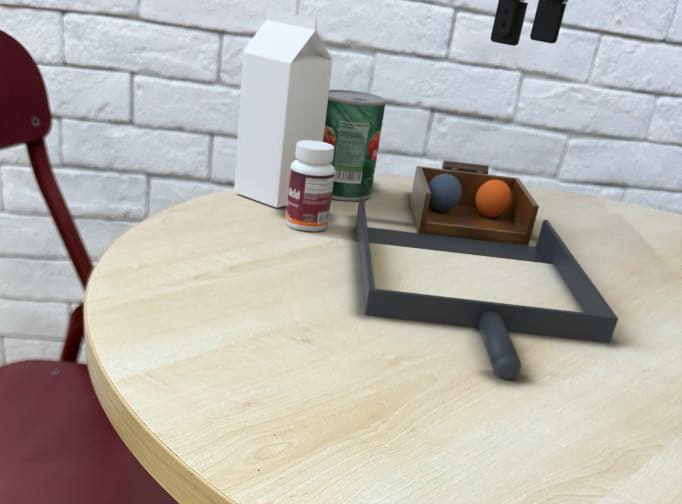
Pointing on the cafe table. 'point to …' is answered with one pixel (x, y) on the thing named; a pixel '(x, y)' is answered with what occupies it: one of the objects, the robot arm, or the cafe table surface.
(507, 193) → the orange ball
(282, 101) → the milk carton
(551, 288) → the cafe table surface
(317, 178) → the pill bottle
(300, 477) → the cafe table surface
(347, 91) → the canned tomato
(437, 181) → the blue ball
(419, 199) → the drawer
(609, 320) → the grey frame with handle
